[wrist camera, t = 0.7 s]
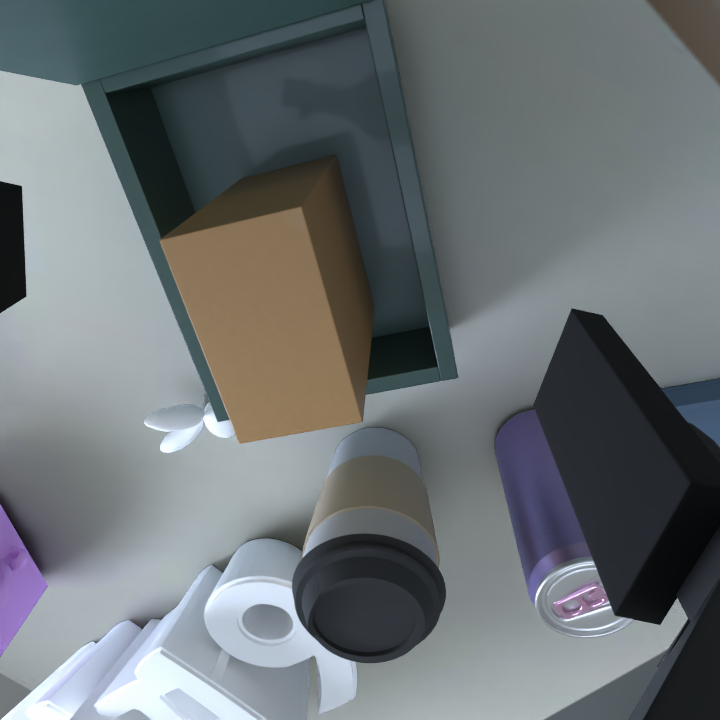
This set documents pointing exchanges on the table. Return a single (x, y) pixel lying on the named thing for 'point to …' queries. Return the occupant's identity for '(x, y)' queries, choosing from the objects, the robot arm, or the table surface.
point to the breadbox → (289, 164)
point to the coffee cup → (370, 553)
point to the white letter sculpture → (204, 655)
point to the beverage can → (550, 535)
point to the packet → (279, 300)
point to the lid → (131, 31)
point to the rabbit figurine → (186, 424)
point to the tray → (699, 405)
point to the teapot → (16, 582)
